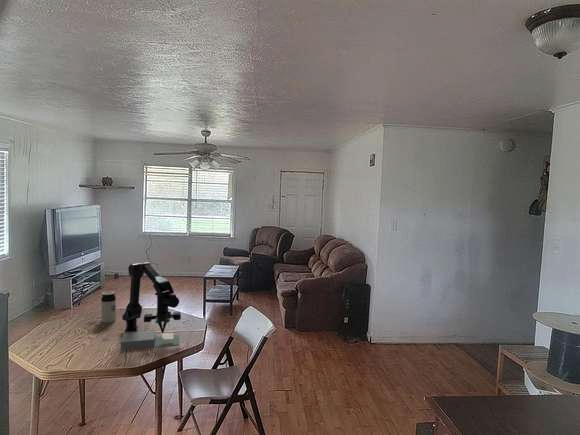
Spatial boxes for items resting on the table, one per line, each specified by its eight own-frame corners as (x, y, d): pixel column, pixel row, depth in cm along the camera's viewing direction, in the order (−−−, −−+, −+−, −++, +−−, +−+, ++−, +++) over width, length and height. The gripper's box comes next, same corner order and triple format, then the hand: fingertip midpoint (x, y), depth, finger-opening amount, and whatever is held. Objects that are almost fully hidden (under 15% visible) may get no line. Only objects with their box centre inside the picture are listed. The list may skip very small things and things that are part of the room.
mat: (156, 337, 211) (156, 336, 211) (178, 335, 214) (178, 334, 214) (155, 347, 197) (155, 346, 197) (179, 345, 201) (179, 344, 201)
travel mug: (98, 321, 233) (98, 293, 232) (110, 318, 240) (109, 290, 239) (107, 324, 230) (107, 294, 229) (118, 320, 237) (118, 292, 236)
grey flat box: (124, 340, 205) (124, 333, 205) (155, 337, 210) (155, 330, 210) (120, 349, 193) (120, 342, 193) (154, 346, 198) (154, 339, 197)
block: (173, 332, 211) (173, 336, 211) (162, 333, 209) (162, 337, 209) (173, 338, 202) (173, 343, 202) (161, 339, 200) (161, 344, 201)
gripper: (143, 309, 193) (142, 339, 194) (181, 307, 199) (180, 336, 200) (144, 303, 204) (144, 331, 205) (180, 301, 209) (180, 329, 210)
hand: (162, 332), depth 205 cm, fingers closed
